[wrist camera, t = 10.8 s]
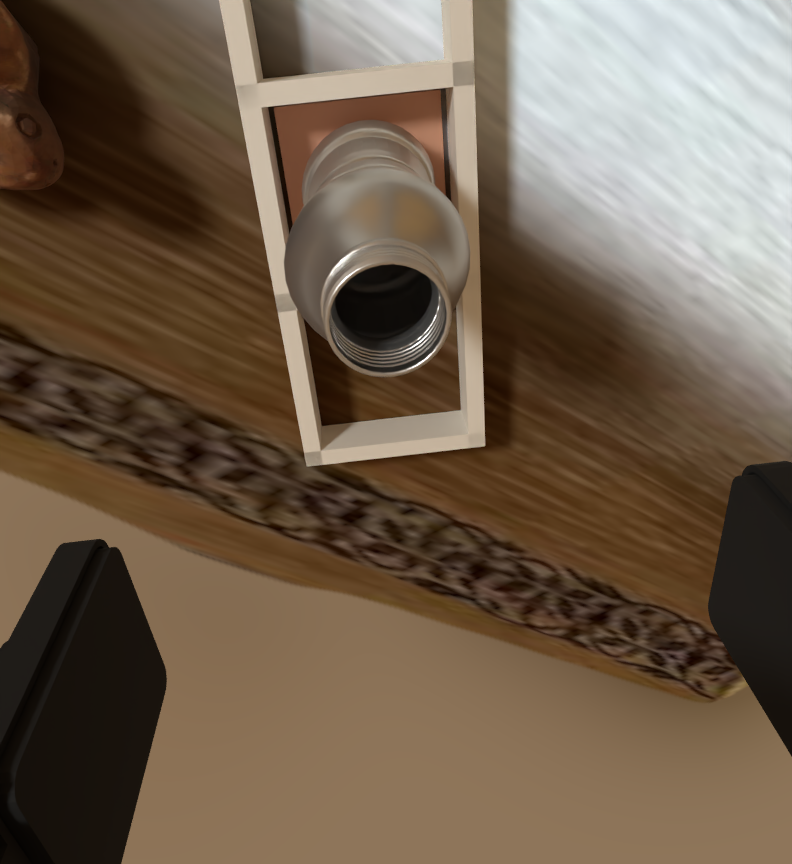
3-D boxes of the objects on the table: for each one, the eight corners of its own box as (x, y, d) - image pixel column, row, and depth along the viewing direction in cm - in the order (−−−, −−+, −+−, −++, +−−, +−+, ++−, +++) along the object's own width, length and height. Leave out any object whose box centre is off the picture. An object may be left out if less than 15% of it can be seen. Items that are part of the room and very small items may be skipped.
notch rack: (195, -184, 29) (180, -203, 27) (454, -210, 29) (465, -232, 27) (308, 441, 45) (306, 466, 43) (477, 422, 45) (485, 446, 43)
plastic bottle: (450, 201, 38) (542, 352, 21) (344, 264, 39) (347, 455, 22) (391, 86, 35) (440, 152, 18) (278, 159, 36) (221, 286, 19)
